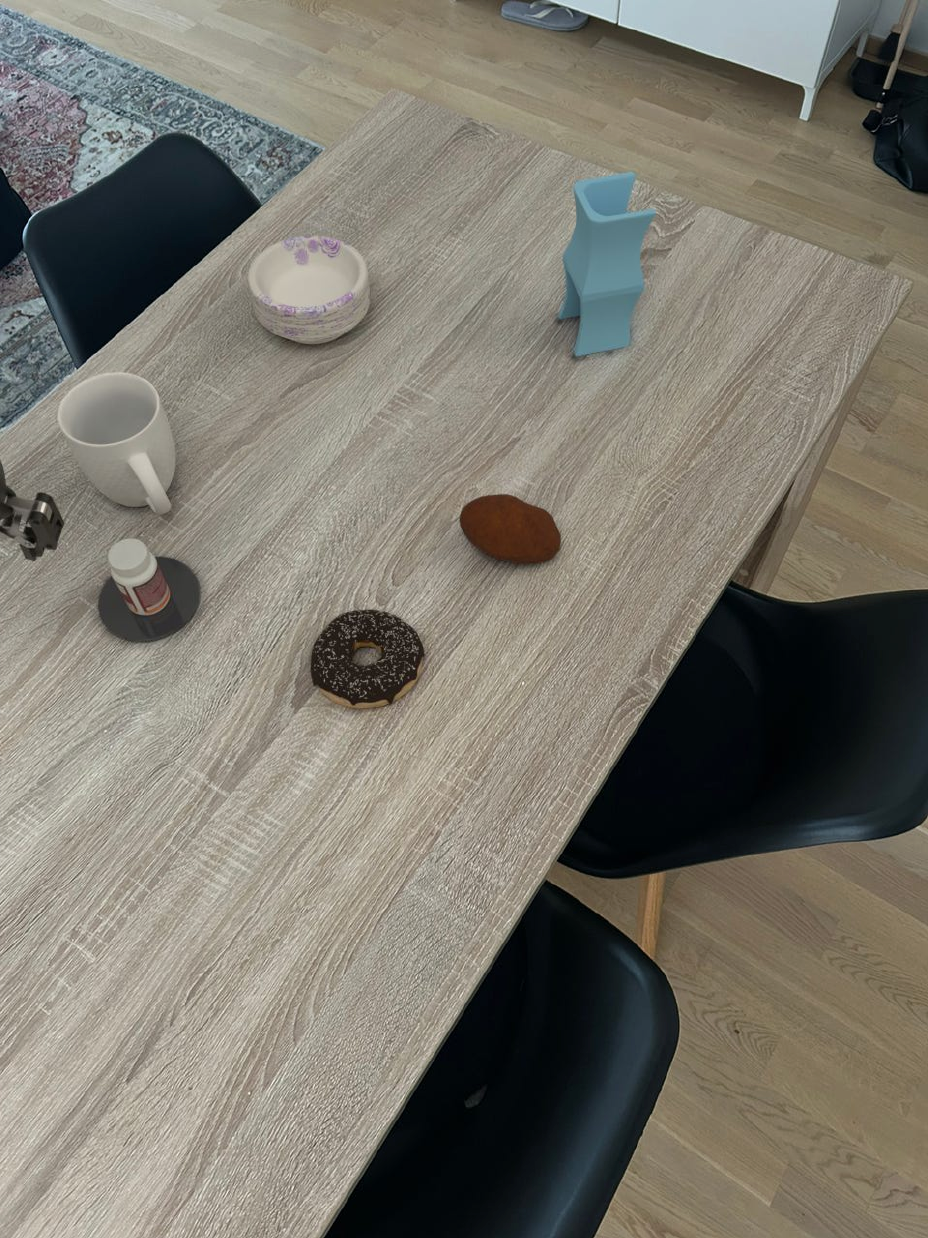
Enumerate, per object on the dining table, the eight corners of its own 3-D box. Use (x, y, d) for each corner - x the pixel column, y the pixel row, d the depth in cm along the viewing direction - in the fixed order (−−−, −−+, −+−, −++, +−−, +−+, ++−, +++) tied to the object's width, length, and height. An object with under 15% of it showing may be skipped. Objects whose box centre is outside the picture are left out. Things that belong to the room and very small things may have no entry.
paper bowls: (352, 269, 143) (346, 220, 136) (387, 343, 135) (383, 294, 128) (244, 297, 140) (233, 247, 133) (274, 373, 132) (263, 325, 126)
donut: (314, 625, 112) (309, 605, 109) (423, 619, 113) (422, 599, 109) (312, 716, 106) (307, 698, 103) (427, 710, 107) (426, 692, 103)
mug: (219, 516, 120) (193, 439, 109) (132, 560, 117) (96, 486, 106) (162, 436, 127) (133, 356, 116) (78, 476, 124) (39, 398, 113)
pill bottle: (174, 581, 115) (155, 535, 108) (166, 617, 112) (145, 573, 105) (132, 579, 115) (109, 533, 108) (122, 615, 113) (99, 571, 105)
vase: (633, 345, 135) (657, 212, 118) (575, 356, 134) (590, 223, 117) (614, 305, 139) (634, 170, 122) (557, 315, 138) (569, 181, 121)
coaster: (88, 640, 112) (86, 637, 111) (112, 556, 117) (111, 554, 117) (189, 645, 111) (188, 642, 111) (209, 561, 117) (208, 558, 116)
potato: (553, 585, 115) (558, 542, 108) (451, 568, 116) (450, 525, 109) (563, 531, 119) (569, 486, 112) (465, 515, 120) (464, 470, 113)
